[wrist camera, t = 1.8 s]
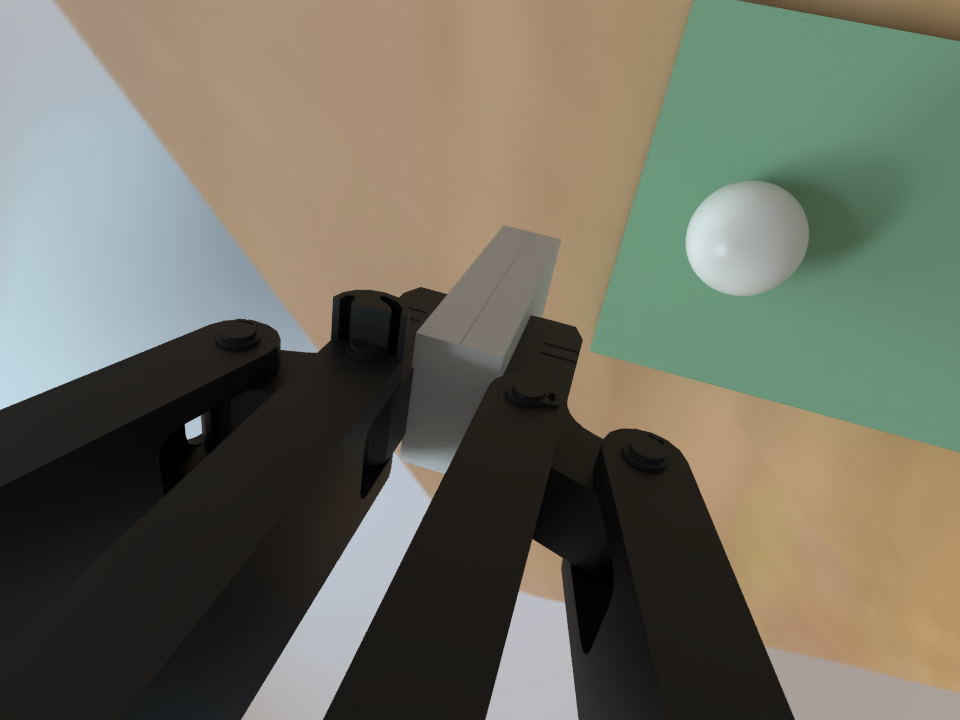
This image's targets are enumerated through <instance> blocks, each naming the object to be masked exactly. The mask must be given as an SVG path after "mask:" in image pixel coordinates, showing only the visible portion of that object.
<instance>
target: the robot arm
mask: <svg viewBox="0 0 960 720" xmlns="http://www.w3.org/2000/svg"><path fill="white" fill-rule="evenodd" d="M560 241H561V239H557V238H553V237H549V236H545V235H541V234H537V233H533V232H529V231H525V230H521V229H517V228H513V227H509V226H505V225H504V226H503V227H502V229H501V230H500V231H499V232H498V233H497V235H496V236H495V237H494V238H493V239H492V241H491V242H490V243H489V244H488V246H487V247H486V248H485V249H484V250H483V252H482V253H481V254H480V255H479V257H478V258H477V259H476V260H475V261H474V263H473V264H472V265H471V266H470V268H469V269H468V270H467V271H466V272H465V274H464V275H463V276H462V277H461V279H460V280H459V281H458V282H457V283H456V285H455V286H454V287H453V288H452V290H451V291H450V292H449V293H448V294H444V293H441V292H437V291H433V290H430V289H426V288H422V287H420V288H417V289H414V290H411V291H408V292H406V293H403V294H402V295H401V296H400V297H399V298H398V297H396V296H393V295H390V294H388V293H385V292H379V291H373V290H353V291H347V292H342V293H340V294H338V295H336V296H334V297H333V311H332V332H331V341H330V342H328V343H327V344H326V345H325V346H324V347H323V348H322V349H321V350H320V351H319V352H318V353H306V352H295V351H285V350H280V337H279V334H278V332H277V331H276V330H274V329H273V328H272V327H270V326H268V325H266V324H263V323H259V322H257V321H253V320H246V319H236V320H229V321H228V320H227V321H222V322H218V323H214V324H211V325H208V326H205V327H203V328H201V329H198V330H196V331H193V332H191V333H188V334H186V335H183V336H181V337H178V338H176V339H173V340H171V341H169V342H166V343H164V344H161V345H159V346H156V347H154V348H151V349H149V350H146V351H144V352H142V353H139V354H137V355H134V356H132V357H129V358H127V359H125V360H122V361H119V362H117V363H114V364H112V365H110V366H107V367H105V368H102V369H100V370H98V371H95V372H92V373H90V374H88V375H85V376H83V377H80V378H78V379H75V380H73V381H70V382H68V383H66V384H63V385H61V386H58V387H55V388H53V389H51V390H48V391H46V392H43V393H41V394H38V395H36V396H33V397H31V398H29V399H26V400H24V401H21V402H19V403H16V404H14V405H11V406H9V407H6V408H4V409H2V410H0V720H241V718H242V717H243V716H244V714H245V712H246V711H247V709H248V707H249V705H250V704H251V702H252V701H253V699H254V697H255V696H256V694H257V693H258V691H259V689H260V688H261V686H262V684H263V683H264V681H265V679H266V678H267V676H268V674H269V673H270V671H271V670H272V668H273V666H274V665H275V663H276V661H277V660H278V658H279V656H280V655H281V653H282V652H283V650H284V648H285V647H286V645H287V643H288V642H289V640H290V638H291V637H292V635H293V633H294V632H295V630H296V629H297V627H298V625H299V624H300V622H301V620H302V619H303V617H304V615H305V614H306V612H307V610H308V609H309V607H310V606H311V604H312V602H313V600H314V599H315V597H316V596H317V594H318V592H319V591H320V589H321V588H322V586H323V584H324V583H325V581H326V579H327V577H328V576H329V574H330V573H331V571H332V569H333V568H334V566H335V564H336V562H337V561H338V560H339V558H340V556H341V555H342V553H343V551H344V550H345V548H346V546H347V545H348V543H349V542H350V540H351V538H352V537H353V535H354V533H355V532H356V530H357V528H358V527H359V525H360V523H361V522H362V520H363V519H364V517H365V515H366V513H367V512H368V510H369V509H370V507H371V505H372V504H373V502H374V501H375V499H376V497H377V496H378V494H379V492H380V491H381V489H382V487H383V486H384V484H385V482H386V481H387V479H388V478H389V474H390V471H391V465H392V457H393V452H394V451H395V449H396V448H397V446H398V444H399V443H400V441H401V440H402V445H401V453H400V460H401V461H405V462H408V463H411V464H414V465H417V466H421V467H424V468H427V469H430V470H433V471H437V472H440V473H443V474H445V475H444V477H443V479H442V481H441V483H440V485H439V487H438V489H437V491H436V493H435V495H434V497H433V499H432V501H431V503H430V505H429V507H428V509H427V511H426V513H425V515H424V517H423V519H422V521H421V523H420V525H419V527H418V529H417V531H416V533H415V535H414V538H413V539H412V541H411V543H410V546H409V547H408V549H407V552H406V553H405V555H404V557H403V560H402V562H401V564H400V566H399V568H398V570H397V572H396V574H395V576H394V578H393V580H392V582H391V584H390V586H389V588H388V590H387V592H386V594H385V596H384V598H383V600H382V602H381V604H380V606H379V608H378V610H377V612H376V614H375V616H374V618H373V620H372V622H371V624H370V626H369V628H368V630H367V632H366V634H365V636H364V638H363V640H362V642H361V644H360V646H359V648H358V650H357V652H356V654H355V656H354V658H353V660H352V663H351V664H350V667H349V668H348V670H347V672H346V675H345V676H344V678H343V681H342V682H341V684H340V686H339V689H338V691H337V693H336V695H335V697H334V699H333V701H332V703H331V705H330V707H329V709H328V711H327V713H326V715H325V717H324V719H323V720H485V719H486V715H487V711H488V707H489V703H490V700H491V696H492V692H493V688H494V684H495V680H496V676H497V672H498V669H499V665H500V661H501V657H502V653H503V649H504V646H505V642H506V638H507V634H508V630H509V626H510V622H511V618H512V615H513V611H514V607H515V603H516V599H517V595H518V592H519V588H520V584H521V580H522V576H523V572H524V569H525V565H526V561H527V557H528V553H529V549H530V545H531V542H532V539H534V540H535V541H537V542H538V543H540V544H541V545H543V546H545V547H546V548H548V549H549V550H551V551H553V552H554V553H556V554H557V555H559V556H560V557H562V558H563V560H562V567H561V570H562V579H563V588H564V596H565V605H566V614H567V623H568V631H569V639H570V648H571V657H572V666H573V674H574V683H575V692H576V701H577V709H578V718H579V720H795V719H794V716H793V714H792V711H791V709H790V707H789V704H788V702H787V699H786V698H785V695H784V692H783V690H782V687H781V685H780V683H779V680H778V678H777V676H776V673H775V671H774V668H773V666H772V663H771V661H770V659H769V656H768V654H767V652H766V649H765V647H764V644H763V642H762V639H761V637H760V635H759V632H758V630H757V627H756V625H755V623H754V620H753V618H752V615H751V613H750V610H749V608H748V606H747V603H746V601H745V598H744V596H743V594H742V591H741V589H740V586H739V584H738V582H737V579H736V577H735V574H734V572H733V570H732V567H731V565H730V562H729V560H728V558H727V555H726V553H725V550H724V548H723V546H722V543H721V541H720V538H719V536H718V534H717V531H716V529H715V526H714V524H713V522H712V519H711V517H710V514H709V512H708V510H707V507H706V505H705V502H704V500H703V497H702V495H701V493H700V490H699V488H698V485H697V483H696V481H695V478H694V476H693V473H692V471H691V469H690V466H689V464H688V462H687V460H686V459H685V457H684V456H683V454H682V453H681V451H680V450H679V449H677V448H676V447H675V446H674V445H672V444H671V443H670V442H669V441H667V440H665V439H664V438H662V437H660V436H657V435H656V434H653V433H651V432H646V431H642V430H639V429H619V430H615V431H612V432H610V433H609V434H608V435H607V436H606V437H605V438H604V439H602V438H600V437H598V436H596V435H595V434H593V433H591V432H590V431H588V430H586V429H585V428H583V427H582V426H581V425H580V424H579V423H577V422H576V421H575V419H574V418H573V417H572V415H571V414H570V412H569V410H568V407H567V399H568V395H569V392H570V388H571V384H572V380H573V376H574V372H575V368H576V364H577V360H578V356H579V352H580V349H581V345H582V341H583V340H582V338H581V336H580V334H579V332H578V330H577V328H576V327H574V326H570V325H567V324H563V323H559V322H555V321H552V320H548V319H544V318H542V315H543V310H544V306H545V302H546V298H547V294H548V290H549V286H550V282H551V278H552V274H553V270H554V266H555V262H556V257H557V253H558V249H559V245H560ZM200 415H201V420H202V434H200V435H199V436H197V437H195V438H192V439H189V440H187V438H186V434H185V424H186V423H187V422H189V421H191V420H193V419H195V418H197V417H199V416H200Z"/></svg>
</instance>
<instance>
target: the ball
mask: <svg viewBox="0 0 960 720" xmlns="http://www.w3.org/2000/svg"><path fill="white" fill-rule="evenodd" d="M808 242H809V225H808V221H807V217H806V215H805V212H804V210H803V208H802V207H801V205H800V203H799V202H798V201H797V200H796V199H795V197H793V196H792V195H791V194H790V193H789V192H788V191H786V190H784V189H783V188H781V187H779V186H777V185H775V184H772V183H768V182H763V181H752V180H749V181H740V182H736V183H732V184H729V185H726V186H724V187H722V188H720V189H718V190H717V191H715V192H713V193H712V194H711V195H709V196H708V197H707V198H706V199H705V200H704V201H703V202H702V203H701V204H700V205H699V207H698V208H697V209H696V211H695V212H694V214H693V216H692V218H691V220H690V222H689V225H688V228H687V233H686V253H687V256H688V260H689V263H690V265H691V267H692V269H693V270H694V272H695V273H696V275H697V276H698V277H699V278H700V279H701V280H702V281H703V282H704V283H705V284H707V285H708V286H710V287H711V288H713V289H715V290H717V291H719V292H722V293H725V294H729V295H735V296H750V295H757V294H760V293H764V292H766V291H769V290H771V289H773V288H775V287H777V286H779V285H780V284H782V283H783V282H785V281H786V280H787V279H788V278H789V277H790V276H791V275H792V274H793V273H794V272H795V271H796V269H797V268H798V267H799V265H800V264H801V262H802V260H803V258H804V256H805V253H806V251H807V247H808Z"/></svg>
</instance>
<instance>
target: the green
mask: <svg viewBox="0 0 960 720" xmlns="http://www.w3.org/2000/svg"><path fill="white" fill-rule="evenodd" d="M749 180H752V181H763V182H768V183H772V184H775V185H777V186H779V187H781V188H783V189H784V190H786V191H788V192H789V193H790V194H791V195H792V196H793V197H795V199H796V200H797V201H798V202H799V203H800V205H801V207H802V208H803V210H804V212H805V215H806V217H807V221H808V225H809V242H808V247H807V251H806V253H805V256H804V258H803V260H802V262H801V264H800V265H799V267H798V268H797V269H796V271H795V272H794V273H793V274H792V275H791V276H790V277H789V278H788V279H787V280H786V281H785V282H783V283H782V284H780V285H779V286H777V287H775V288H773V289H771V290H769V291H766V292H764V293H760V294H757V295H750V296H735V295H729V294H725V293H722V292H719V291H717V290H715V289H713V288H711V287H710V286H708V285H707V284H705V283H704V282H703V281H702V280H701V279H700V278H699V277H698V276H697V275H696V273H695V272H694V270H693V269H692V267H691V265H690V263H689V260H688V256H687V253H686V233H687V228H688V225H689V222H690V220H691V218H692V216H693V214H694V212H695V211H696V209H697V208H698V207H699V205H700V204H701V203H702V202H703V201H704V200H705V199H706V198H707V197H708V196H709V195H711V194H712V193H713V192H715V191H717V190H718V189H720V188H722V187H724V186H726V185H729V184H732V183H736V182H740V181H749ZM590 351H591V352H595V353H599V354H602V355H606V356H610V357H613V358H617V359H620V360H624V361H628V362H631V363H635V364H639V365H642V366H646V367H650V368H653V369H657V370H661V371H664V372H668V373H672V374H675V375H679V376H683V377H686V378H690V379H694V380H697V381H701V382H705V383H708V384H712V385H716V386H719V387H723V388H727V389H730V390H734V391H738V392H741V393H745V394H749V395H752V396H756V397H759V398H763V399H767V400H770V401H774V402H778V403H781V404H785V405H789V406H792V407H796V408H800V409H803V410H807V411H811V412H814V413H818V414H822V415H825V416H829V417H833V418H836V419H840V420H844V421H847V422H851V423H855V424H858V425H862V426H866V427H869V428H873V429H877V430H880V431H884V432H888V433H891V434H895V435H899V436H902V437H906V438H909V439H913V440H917V441H920V442H924V443H928V444H931V445H935V446H939V447H942V448H946V449H950V450H953V451H957V452H960V41H955V40H950V39H944V38H939V37H934V36H928V35H923V34H917V33H912V32H906V31H901V30H896V29H890V28H885V27H879V26H874V25H868V24H863V23H858V22H852V21H847V20H841V19H836V18H831V17H825V16H820V15H814V14H809V13H803V12H798V11H793V10H787V9H782V8H776V7H771V6H765V5H760V4H755V3H749V2H744V1H738V0H694V1H693V4H692V7H691V11H690V14H689V17H688V21H687V24H686V27H685V31H684V34H683V37H682V41H681V44H680V48H679V51H678V54H677V58H676V61H675V64H674V68H673V71H672V74H671V78H670V81H669V84H668V88H667V91H666V94H665V98H664V101H663V104H662V108H661V111H660V114H659V118H658V121H657V124H656V128H655V131H654V134H653V138H652V141H651V145H650V148H649V151H648V155H647V158H646V161H645V165H644V168H643V171H642V175H641V178H640V181H639V185H638V188H637V191H636V195H635V198H634V201H633V205H632V208H631V211H630V215H629V218H628V221H627V225H626V228H625V231H624V235H623V238H622V242H621V245H620V248H619V252H618V255H617V258H616V262H615V265H614V268H613V272H612V275H611V278H610V282H609V285H608V288H607V292H606V295H605V298H604V302H603V305H602V308H601V312H600V315H599V318H598V322H597V325H596V328H595V332H594V336H593V340H592V345H591V349H590Z"/></svg>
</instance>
